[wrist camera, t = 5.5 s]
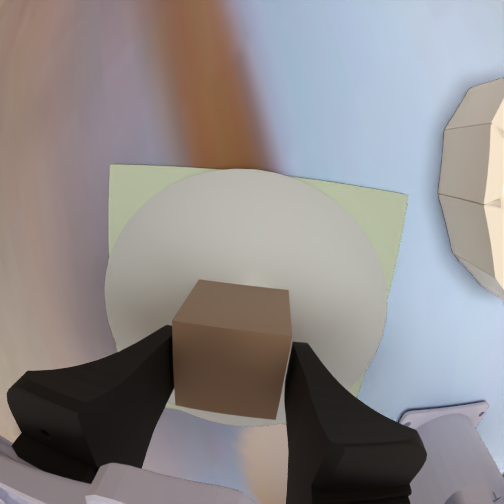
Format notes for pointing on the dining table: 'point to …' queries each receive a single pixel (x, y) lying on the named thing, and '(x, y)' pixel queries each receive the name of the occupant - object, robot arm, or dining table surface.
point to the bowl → (476, 184)
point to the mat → (347, 196)
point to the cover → (246, 289)
